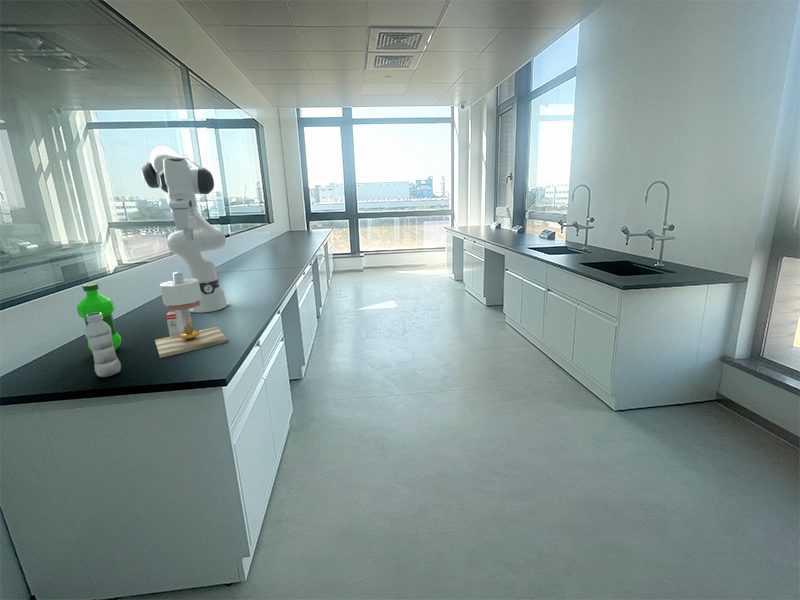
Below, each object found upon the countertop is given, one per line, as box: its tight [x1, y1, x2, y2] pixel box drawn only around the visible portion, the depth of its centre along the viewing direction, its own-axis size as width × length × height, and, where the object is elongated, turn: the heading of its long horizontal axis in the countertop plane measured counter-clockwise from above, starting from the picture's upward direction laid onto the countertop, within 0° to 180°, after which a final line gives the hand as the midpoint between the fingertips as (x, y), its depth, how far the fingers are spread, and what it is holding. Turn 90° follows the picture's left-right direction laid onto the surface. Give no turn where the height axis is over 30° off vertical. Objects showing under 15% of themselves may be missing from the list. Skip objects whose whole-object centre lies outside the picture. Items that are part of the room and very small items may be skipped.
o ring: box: [167, 301, 200, 311], centre depth 144 cm, size 10×10×2 cm
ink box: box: [165, 310, 184, 337], centre depth 155 cm, size 4×8×15 cm, turn 17°
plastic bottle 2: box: [84, 312, 122, 378], centre depth 120 cm, size 6×7×20 cm
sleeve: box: [159, 278, 202, 307], centre depth 142 cm, size 12×12×7 cm
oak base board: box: [154, 326, 228, 359], centre depth 147 cm, size 18×22×2 cm
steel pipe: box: [172, 271, 199, 341], centre depth 144 cm, size 6×6×26 cm
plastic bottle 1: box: [76, 283, 122, 352], centre depth 140 cm, size 10×10×25 cm
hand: (190, 240), depth 148 cm, fingers open, 3 cm apart
